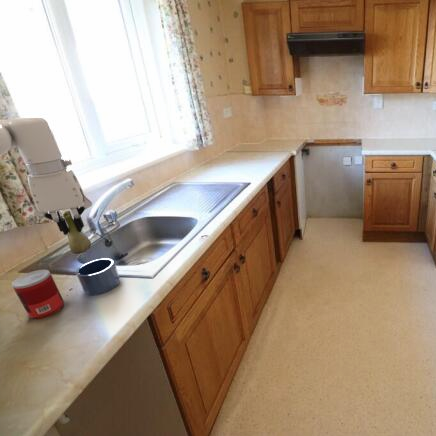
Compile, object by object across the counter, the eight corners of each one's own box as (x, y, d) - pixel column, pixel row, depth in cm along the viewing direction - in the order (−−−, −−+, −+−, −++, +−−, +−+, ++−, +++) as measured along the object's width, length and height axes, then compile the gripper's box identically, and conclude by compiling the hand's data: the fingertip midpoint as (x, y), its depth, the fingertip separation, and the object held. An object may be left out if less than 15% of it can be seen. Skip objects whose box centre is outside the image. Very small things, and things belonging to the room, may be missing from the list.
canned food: (71, 301, 94) (56, 270, 89) (45, 320, 87) (27, 287, 82) (49, 299, 95) (33, 268, 91) (22, 318, 88) (3, 285, 84)
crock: (82, 299, 95) (73, 279, 92) (86, 282, 102) (78, 264, 99) (119, 288, 99) (112, 269, 96) (121, 273, 106) (114, 255, 103)
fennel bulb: (78, 247, 95) (63, 209, 90) (96, 245, 95) (82, 207, 91) (68, 257, 89) (51, 217, 84) (87, 254, 90) (72, 215, 85)
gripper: (86, 159, 88) (108, 219, 96) (10, 169, 82) (41, 233, 89) (82, 165, 82) (106, 229, 90) (0, 176, 76) (33, 244, 83)
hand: (73, 230), depth 90 cm, fingers closed on fennel bulb, 2 cm apart
